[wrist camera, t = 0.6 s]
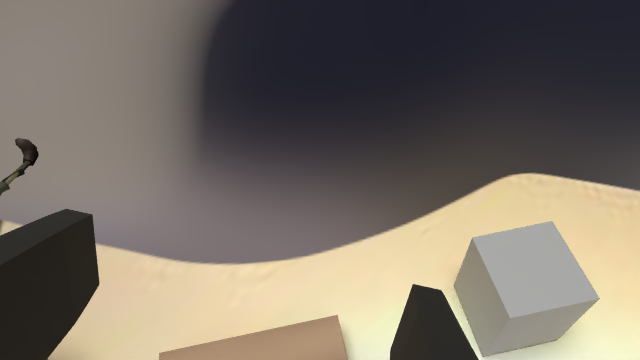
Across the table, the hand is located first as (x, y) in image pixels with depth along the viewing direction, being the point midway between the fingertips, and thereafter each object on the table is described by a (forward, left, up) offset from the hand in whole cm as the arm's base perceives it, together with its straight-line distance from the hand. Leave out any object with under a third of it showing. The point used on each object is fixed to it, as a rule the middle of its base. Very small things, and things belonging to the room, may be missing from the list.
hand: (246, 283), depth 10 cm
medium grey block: (+4, -13, -18) cm, 22 cm away
